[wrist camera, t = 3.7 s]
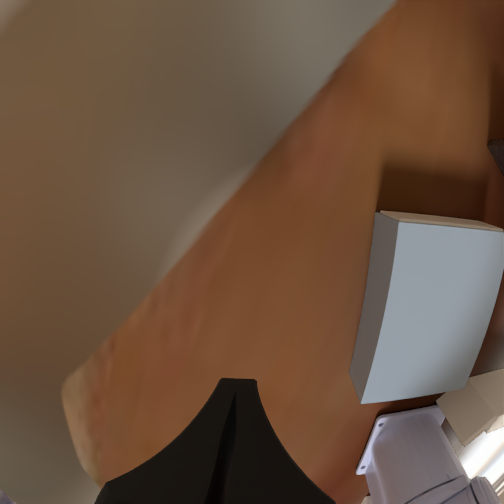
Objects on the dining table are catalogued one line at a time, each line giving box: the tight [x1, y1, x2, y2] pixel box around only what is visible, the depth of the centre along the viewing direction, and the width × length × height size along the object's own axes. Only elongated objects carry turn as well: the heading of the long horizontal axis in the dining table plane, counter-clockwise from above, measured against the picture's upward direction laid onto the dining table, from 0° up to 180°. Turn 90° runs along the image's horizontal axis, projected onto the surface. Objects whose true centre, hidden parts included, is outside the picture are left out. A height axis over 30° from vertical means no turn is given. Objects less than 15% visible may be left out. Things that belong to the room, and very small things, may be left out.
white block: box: [349, 210, 504, 404], centre depth 18 cm, size 12×9×4 cm
